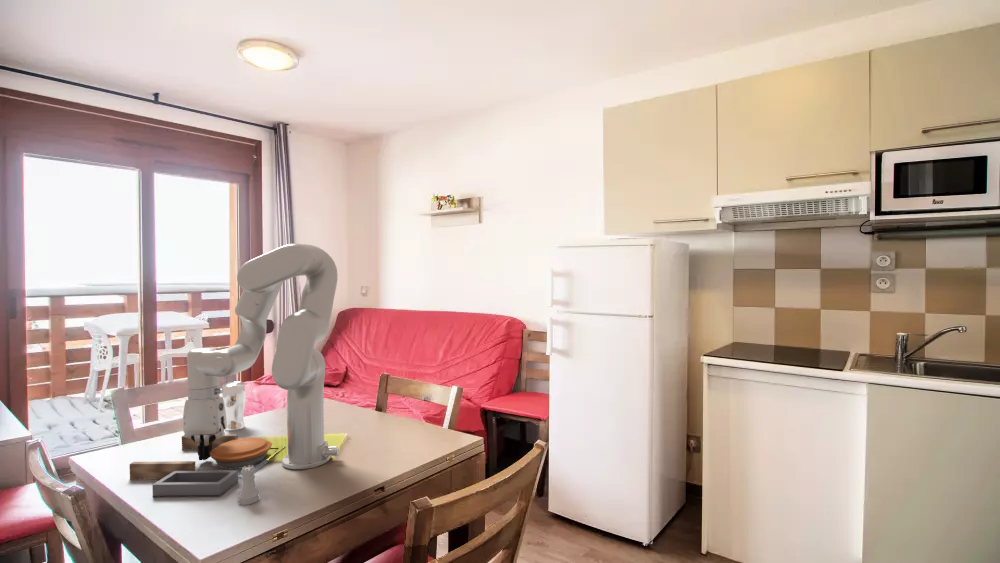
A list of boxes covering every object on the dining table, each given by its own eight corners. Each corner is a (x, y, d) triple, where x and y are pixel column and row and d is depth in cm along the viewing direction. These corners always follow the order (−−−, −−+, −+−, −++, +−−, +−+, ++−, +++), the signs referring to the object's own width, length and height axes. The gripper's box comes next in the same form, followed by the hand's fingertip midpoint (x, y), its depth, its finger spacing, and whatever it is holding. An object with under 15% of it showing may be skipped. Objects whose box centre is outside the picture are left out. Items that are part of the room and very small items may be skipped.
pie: (220, 453, 147) (219, 436, 147) (277, 448, 150) (276, 432, 150) (201, 475, 132) (200, 456, 132) (265, 469, 135) (265, 450, 135)
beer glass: (218, 430, 169) (217, 385, 168) (236, 423, 175) (235, 380, 175) (233, 432, 166) (232, 387, 166) (251, 426, 172) (249, 382, 172)
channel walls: (238, 447, 152) (237, 434, 152) (192, 478, 129) (191, 463, 129) (185, 448, 152) (184, 434, 152) (130, 479, 129) (129, 464, 129)
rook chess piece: (242, 497, 118) (242, 463, 118) (262, 496, 119) (261, 462, 119) (234, 506, 114) (233, 471, 114) (255, 505, 114) (254, 470, 114)
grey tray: (238, 482, 127) (237, 470, 127) (220, 496, 119) (220, 484, 119) (174, 482, 127) (174, 471, 127) (152, 497, 119) (152, 484, 119)
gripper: (237, 389, 144) (238, 453, 144) (185, 389, 144) (186, 453, 144) (223, 396, 136) (224, 463, 137) (167, 396, 136) (169, 463, 137)
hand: (205, 458), depth 140 cm, fingers closed
